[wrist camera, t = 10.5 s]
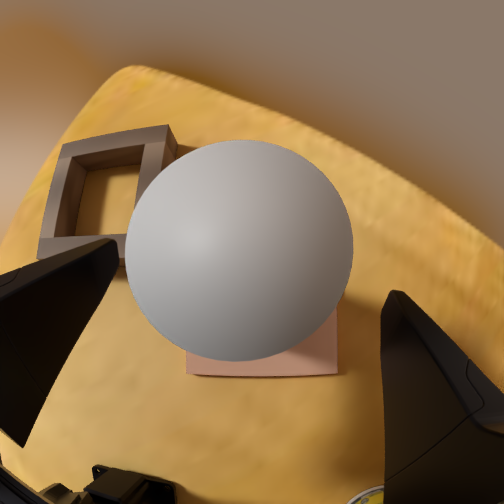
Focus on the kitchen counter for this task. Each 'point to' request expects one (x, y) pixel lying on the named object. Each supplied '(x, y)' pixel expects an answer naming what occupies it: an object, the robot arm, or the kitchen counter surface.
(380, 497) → the supplement bottle
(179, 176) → the grey cylinder
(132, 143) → the walnut collar
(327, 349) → the terracotta tile
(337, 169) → the kitchen counter surface
